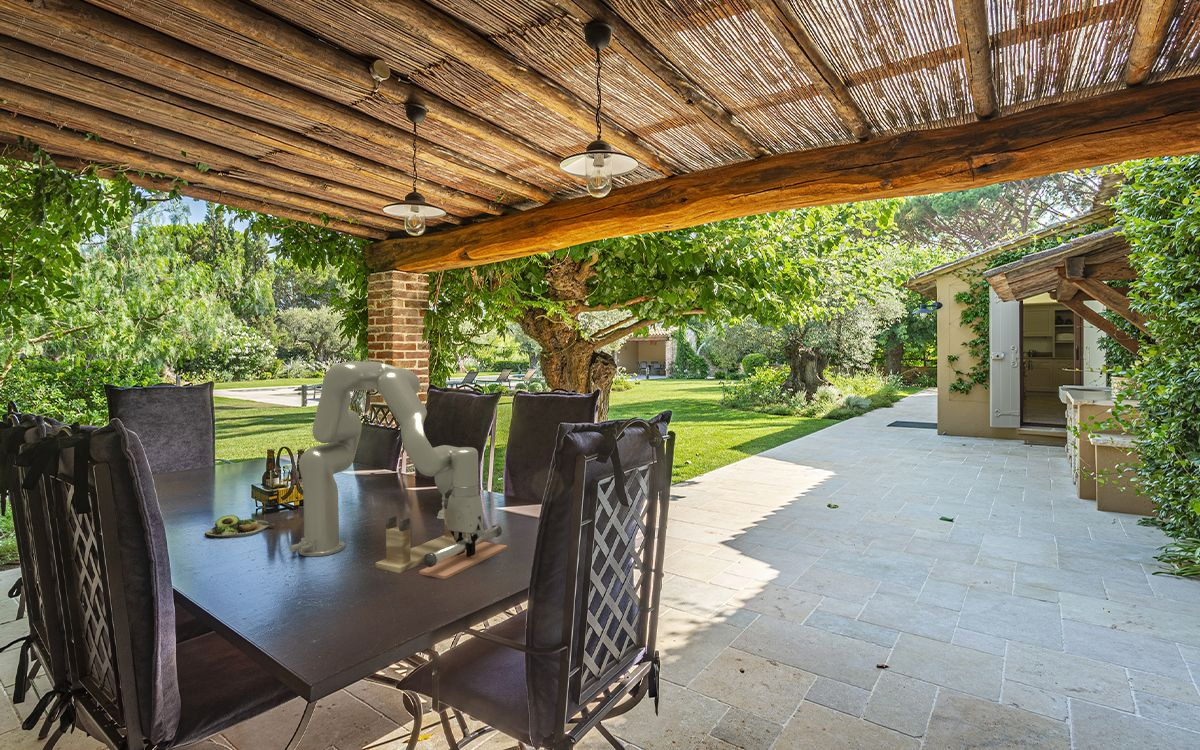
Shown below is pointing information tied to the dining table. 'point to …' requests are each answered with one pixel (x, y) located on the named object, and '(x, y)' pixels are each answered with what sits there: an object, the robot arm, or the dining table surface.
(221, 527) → the salad plate
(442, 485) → the chalice
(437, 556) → the steel rail
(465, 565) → the terracotta mat
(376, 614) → the dining table surface
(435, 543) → the rail stand
